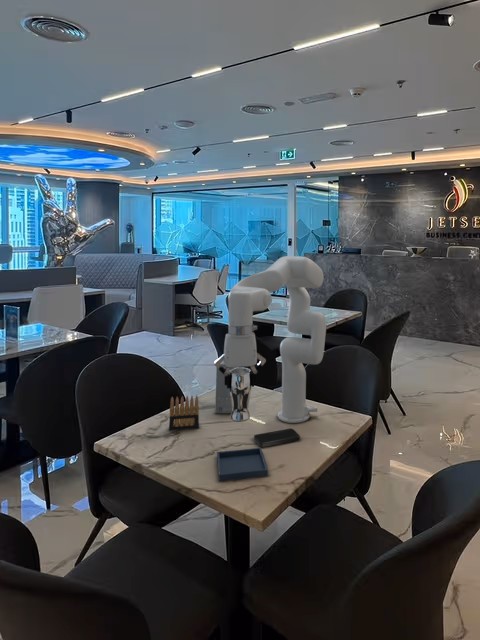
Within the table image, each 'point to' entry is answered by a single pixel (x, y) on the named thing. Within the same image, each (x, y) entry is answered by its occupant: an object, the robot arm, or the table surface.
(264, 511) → the table surface
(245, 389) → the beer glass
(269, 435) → the phone
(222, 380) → the hard drive box
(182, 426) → the ammunition clip
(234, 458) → the tray
